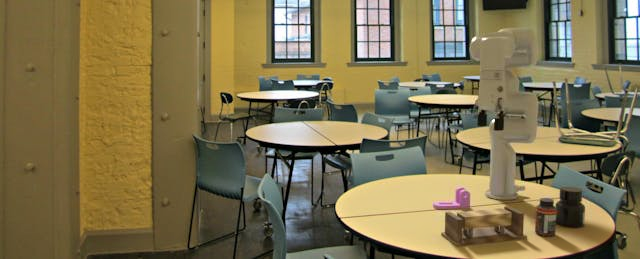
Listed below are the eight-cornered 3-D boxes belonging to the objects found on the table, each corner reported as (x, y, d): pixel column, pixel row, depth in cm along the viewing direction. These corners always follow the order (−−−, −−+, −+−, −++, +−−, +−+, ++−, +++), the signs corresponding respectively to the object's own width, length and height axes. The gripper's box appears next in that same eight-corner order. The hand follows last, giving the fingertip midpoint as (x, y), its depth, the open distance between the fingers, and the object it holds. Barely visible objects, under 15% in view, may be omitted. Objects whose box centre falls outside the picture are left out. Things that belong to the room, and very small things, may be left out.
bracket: (464, 204, 195) (465, 186, 194) (469, 208, 190) (470, 190, 189) (431, 205, 194) (431, 187, 193) (435, 209, 189) (435, 191, 188)
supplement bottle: (531, 230, 165) (532, 197, 163) (548, 230, 165) (550, 196, 163) (540, 237, 159) (542, 202, 157) (559, 236, 159) (561, 201, 158)
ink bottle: (591, 227, 167) (593, 192, 165) (567, 229, 165) (569, 193, 164) (570, 218, 177) (572, 184, 175) (548, 220, 175) (550, 186, 173)
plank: (501, 220, 164) (502, 208, 163) (511, 225, 159) (511, 212, 159) (456, 224, 160) (456, 212, 160) (464, 229, 155) (465, 217, 155)
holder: (507, 227, 168) (508, 205, 167) (526, 238, 158) (528, 214, 157) (441, 235, 162) (441, 211, 161) (456, 246, 152) (457, 221, 151)
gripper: (518, 77, 157) (516, 131, 160) (487, 74, 174) (485, 123, 177) (496, 77, 156) (495, 133, 158) (467, 75, 172) (466, 125, 175)
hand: (490, 128), depth 167 cm, fingers open, 9 cm apart
